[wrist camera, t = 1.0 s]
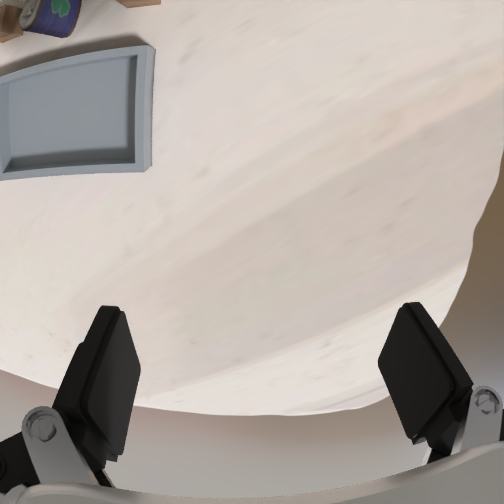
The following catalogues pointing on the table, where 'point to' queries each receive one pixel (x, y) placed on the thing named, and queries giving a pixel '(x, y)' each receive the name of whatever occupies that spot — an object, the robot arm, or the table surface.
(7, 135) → the tray
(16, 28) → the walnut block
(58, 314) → the table surface
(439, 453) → the robot arm
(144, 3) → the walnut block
